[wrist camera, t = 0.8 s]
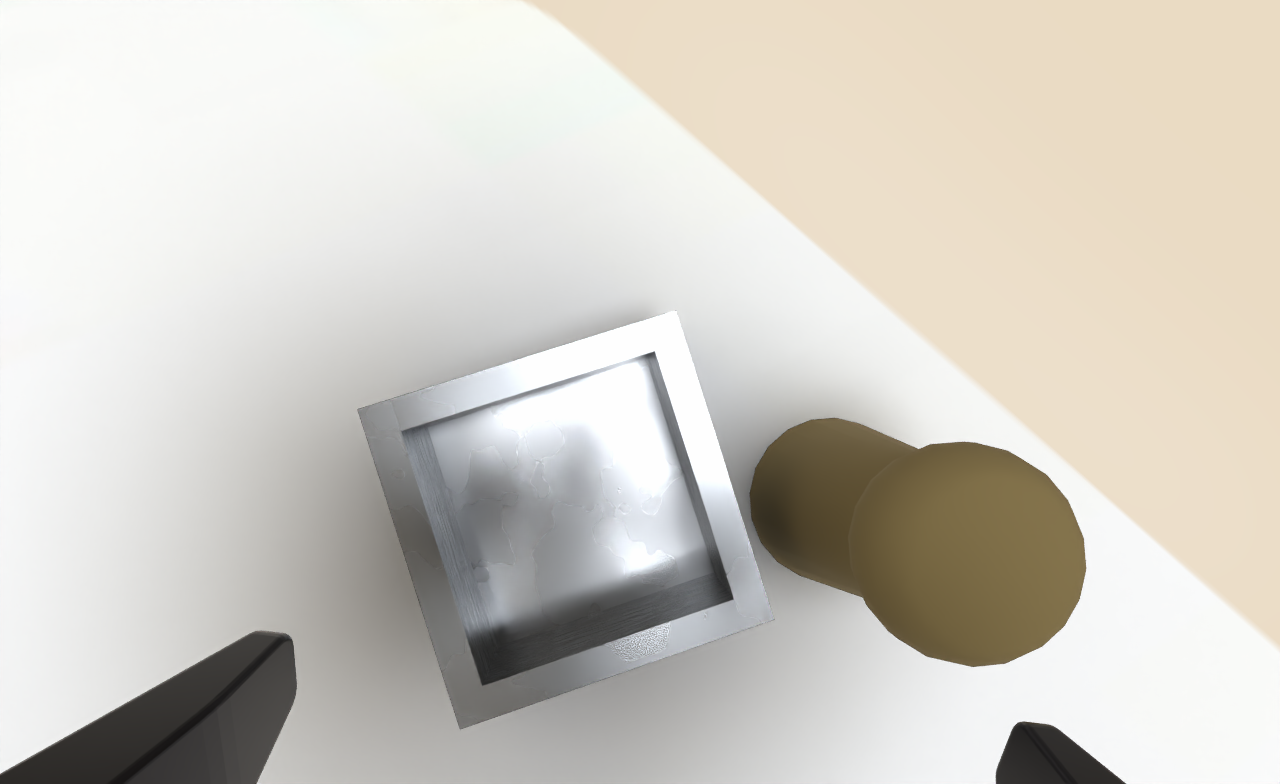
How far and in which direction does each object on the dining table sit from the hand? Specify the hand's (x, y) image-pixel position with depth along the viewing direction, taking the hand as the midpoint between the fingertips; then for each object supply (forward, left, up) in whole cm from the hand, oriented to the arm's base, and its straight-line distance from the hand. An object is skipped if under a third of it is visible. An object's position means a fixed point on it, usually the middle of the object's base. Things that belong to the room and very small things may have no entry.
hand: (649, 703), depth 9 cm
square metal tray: (+1, +1, -17) cm, 17 cm away
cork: (-2, -8, -17) cm, 19 cm away
